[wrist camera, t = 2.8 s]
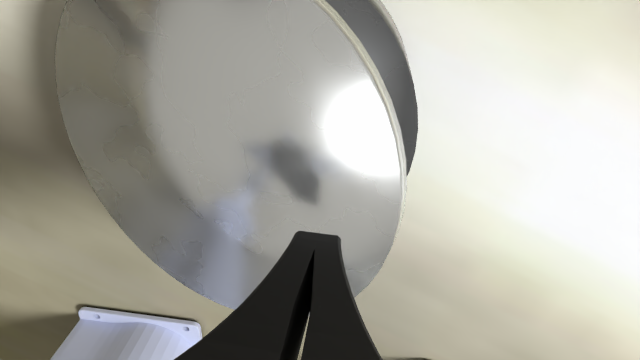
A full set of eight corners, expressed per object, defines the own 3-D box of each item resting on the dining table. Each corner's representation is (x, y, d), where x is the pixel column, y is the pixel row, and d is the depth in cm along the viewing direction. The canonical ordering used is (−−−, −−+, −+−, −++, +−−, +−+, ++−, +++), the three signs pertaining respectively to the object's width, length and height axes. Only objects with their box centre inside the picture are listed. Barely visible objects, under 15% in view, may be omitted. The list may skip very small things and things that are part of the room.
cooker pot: (147, 201, 26) (113, 243, 23) (71, -194, 16) (-8, -224, 13) (387, 230, 25) (389, 277, 22) (461, -172, 15) (485, -199, 12)
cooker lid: (112, 243, 23) (96, 255, 22) (-10, -225, 13) (-47, -236, 12) (374, 353, 18) (366, 373, 17) (500, -262, 8) (496, -284, 7)
